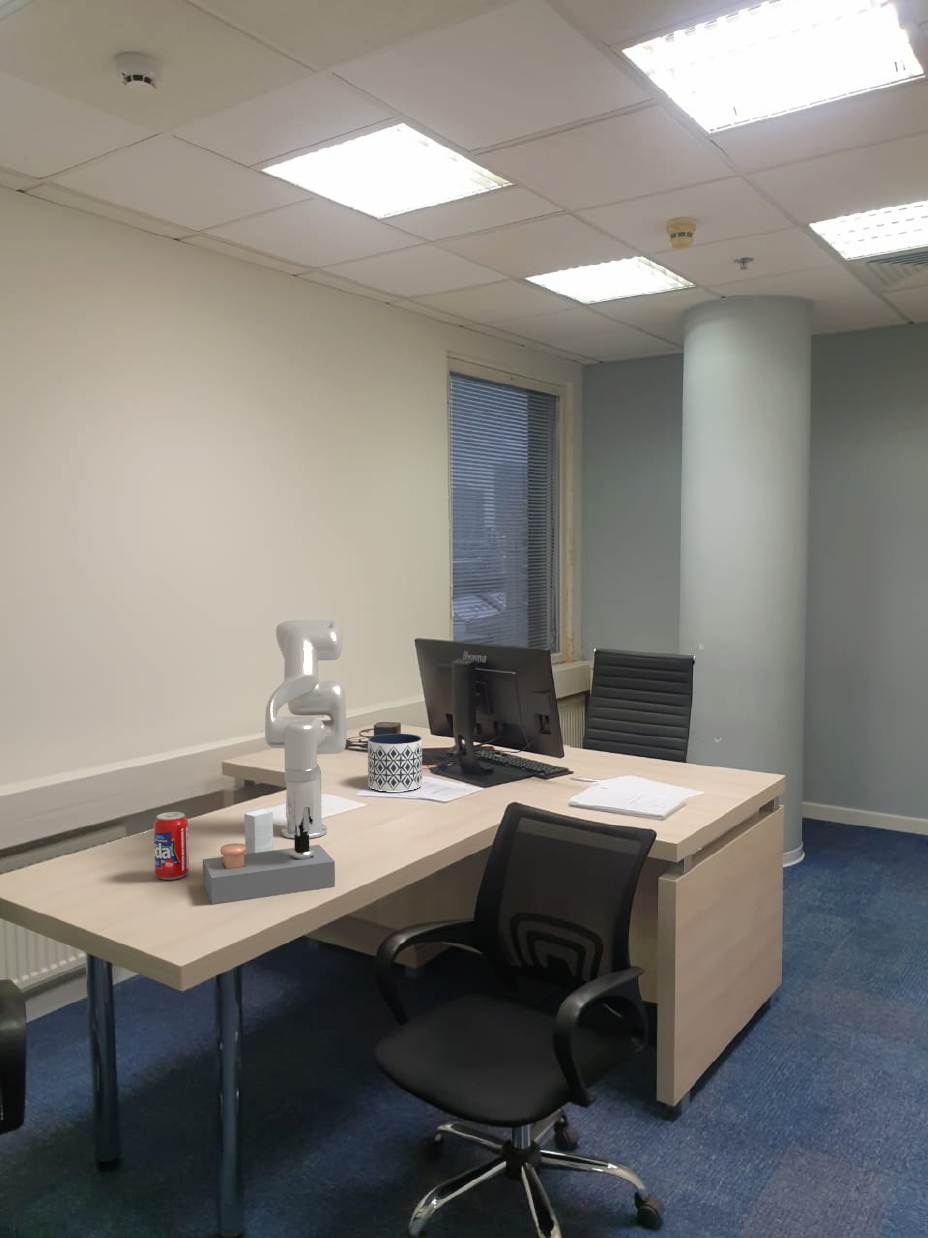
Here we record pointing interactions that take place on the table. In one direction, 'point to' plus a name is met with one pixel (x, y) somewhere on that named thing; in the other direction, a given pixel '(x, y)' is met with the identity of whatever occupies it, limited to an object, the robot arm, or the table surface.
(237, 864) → the peach dome knob
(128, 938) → the table surface
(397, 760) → the planter
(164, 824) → the soda can
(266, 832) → the skincare box
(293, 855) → the grey plunger
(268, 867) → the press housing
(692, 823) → the table surface
